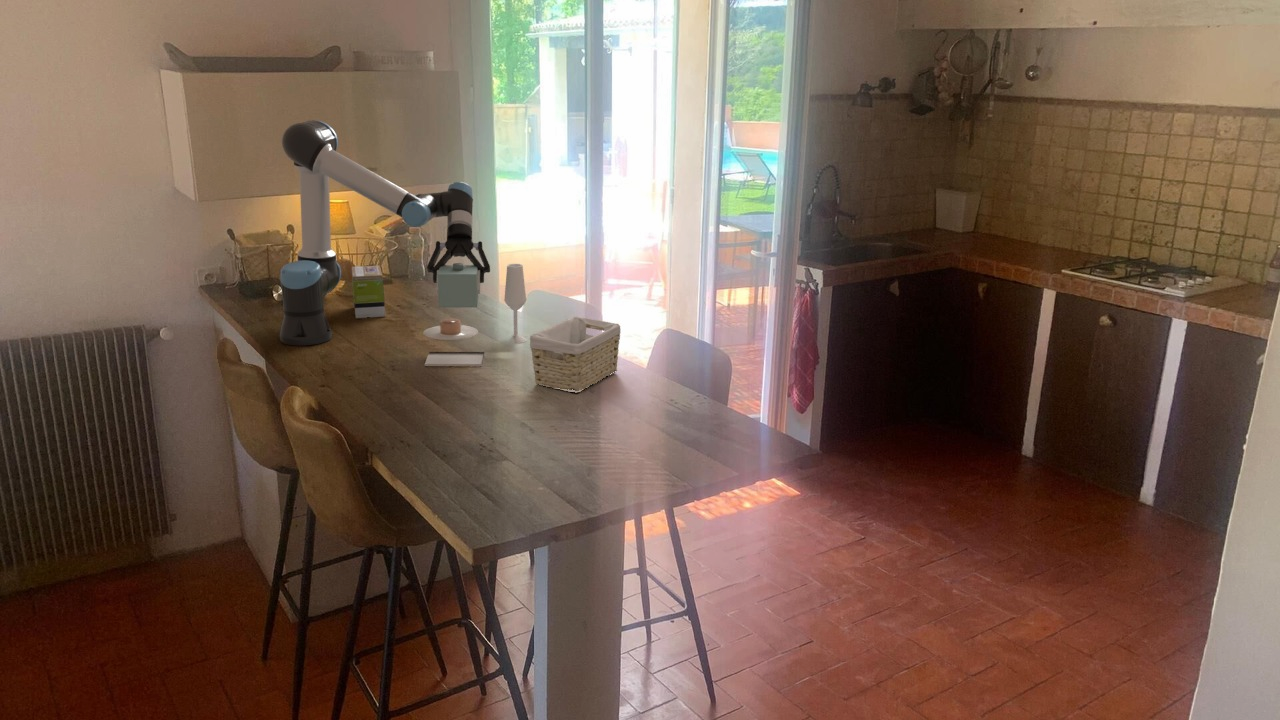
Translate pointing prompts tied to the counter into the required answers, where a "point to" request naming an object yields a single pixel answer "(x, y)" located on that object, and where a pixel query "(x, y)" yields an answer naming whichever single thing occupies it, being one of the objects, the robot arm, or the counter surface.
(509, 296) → the champagne flute
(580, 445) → the counter surface
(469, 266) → the cover
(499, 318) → the counter surface
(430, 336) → the plate
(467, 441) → the counter surface
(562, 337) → the storage basket
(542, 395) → the counter surface
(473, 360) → the mat
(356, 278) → the tea box
